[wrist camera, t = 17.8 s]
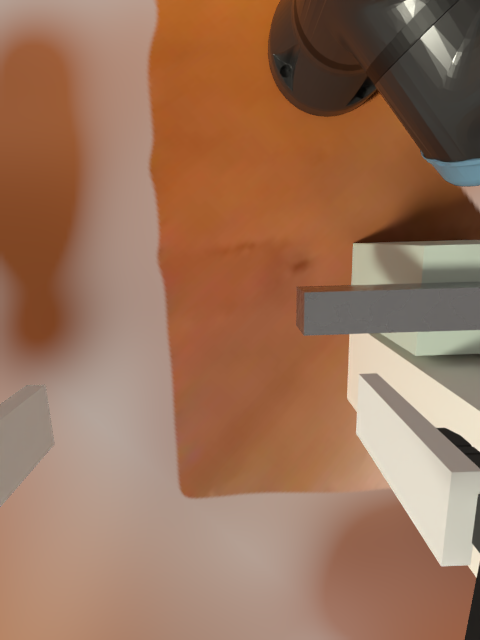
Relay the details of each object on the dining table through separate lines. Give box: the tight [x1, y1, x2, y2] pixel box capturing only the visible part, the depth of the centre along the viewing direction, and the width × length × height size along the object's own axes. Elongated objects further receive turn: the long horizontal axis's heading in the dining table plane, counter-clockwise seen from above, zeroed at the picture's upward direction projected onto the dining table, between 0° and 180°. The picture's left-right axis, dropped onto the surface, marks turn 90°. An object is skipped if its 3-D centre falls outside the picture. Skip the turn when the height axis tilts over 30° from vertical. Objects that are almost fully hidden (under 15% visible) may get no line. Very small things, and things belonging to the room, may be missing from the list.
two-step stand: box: [347, 240, 480, 577], centre depth 38 cm, size 16×23×30 cm
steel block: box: [296, 282, 480, 335], centre depth 31 cm, size 30×4×4 cm, turn 91°
